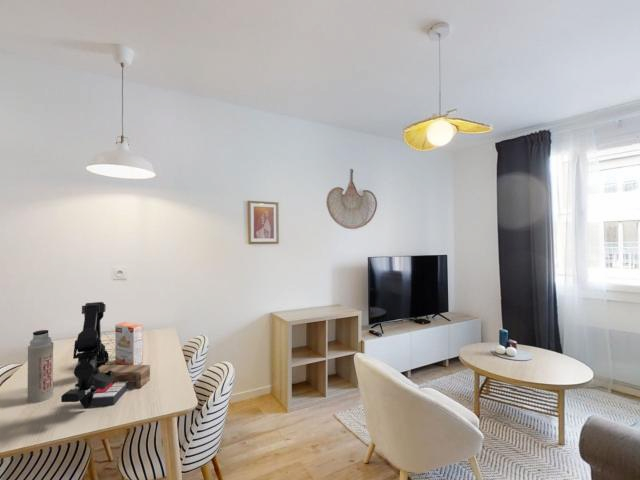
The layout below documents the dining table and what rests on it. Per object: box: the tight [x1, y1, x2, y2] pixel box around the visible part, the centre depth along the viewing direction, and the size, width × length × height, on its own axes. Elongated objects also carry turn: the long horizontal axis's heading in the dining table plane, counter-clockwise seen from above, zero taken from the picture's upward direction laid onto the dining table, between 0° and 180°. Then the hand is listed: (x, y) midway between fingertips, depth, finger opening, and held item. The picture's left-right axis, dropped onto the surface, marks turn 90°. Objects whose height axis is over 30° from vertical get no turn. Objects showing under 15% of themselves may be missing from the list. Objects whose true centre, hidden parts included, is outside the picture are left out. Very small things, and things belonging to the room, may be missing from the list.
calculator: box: [89, 381, 130, 408], centre depth 133 cm, size 11×4×15 cm
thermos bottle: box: [27, 329, 54, 404], centre depth 131 cm, size 8×8×28 cm
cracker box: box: [114, 321, 144, 365], centre depth 168 cm, size 14×6×21 cm, turn 68°
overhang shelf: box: [99, 364, 151, 389], centre depth 144 cm, size 22×8×7 cm, turn 92°
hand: (87, 408), depth 122 cm, fingers closed
